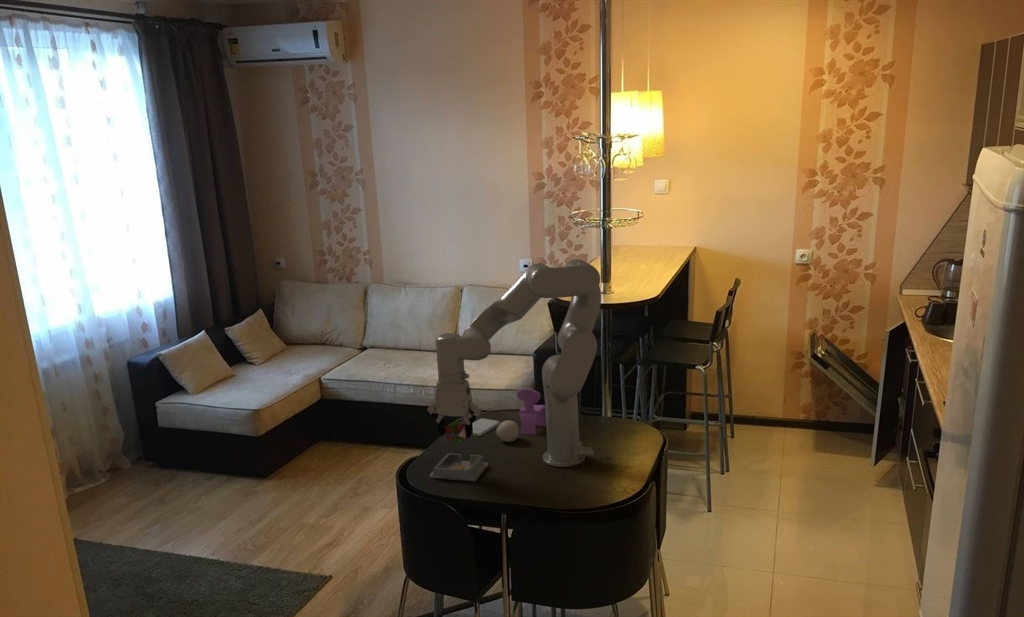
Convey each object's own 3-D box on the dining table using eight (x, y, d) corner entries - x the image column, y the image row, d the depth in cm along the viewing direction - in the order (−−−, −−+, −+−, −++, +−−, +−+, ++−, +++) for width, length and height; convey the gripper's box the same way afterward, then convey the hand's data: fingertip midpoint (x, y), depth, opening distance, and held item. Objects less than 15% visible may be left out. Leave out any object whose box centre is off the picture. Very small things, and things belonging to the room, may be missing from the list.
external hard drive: (500, 425, 265) (479, 438, 255) (480, 422, 269) (459, 434, 259) (500, 421, 265) (478, 433, 254) (480, 418, 269) (458, 429, 259)
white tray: (488, 465, 232) (487, 455, 231) (475, 481, 221) (474, 471, 220) (444, 462, 236) (443, 452, 235) (429, 478, 225) (428, 468, 225)
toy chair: (549, 425, 260) (547, 382, 257) (539, 435, 253) (537, 391, 250) (526, 423, 264) (524, 381, 261) (516, 432, 256) (513, 389, 253)
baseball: (498, 437, 253) (497, 417, 252) (521, 437, 252) (519, 417, 251) (495, 445, 247) (493, 425, 246) (518, 445, 246) (516, 425, 244)
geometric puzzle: (434, 434, 225) (451, 418, 222) (445, 426, 231) (462, 410, 228) (450, 453, 224) (468, 438, 221) (460, 445, 230) (478, 429, 227)
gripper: (484, 374, 223) (488, 432, 227) (428, 371, 229) (433, 429, 232) (475, 382, 216) (479, 442, 220) (418, 379, 222) (422, 438, 225)
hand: (455, 435), depth 226 cm, fingers closed on geometric puzzle, 7 cm apart
